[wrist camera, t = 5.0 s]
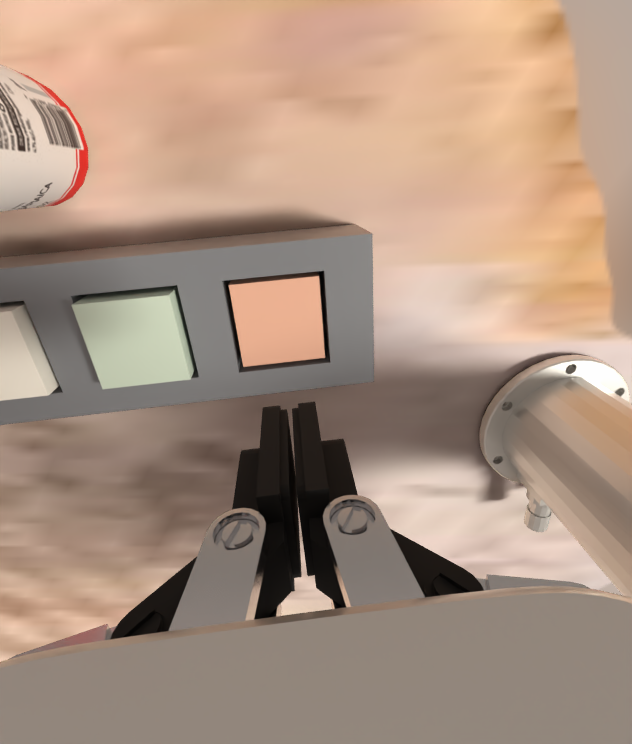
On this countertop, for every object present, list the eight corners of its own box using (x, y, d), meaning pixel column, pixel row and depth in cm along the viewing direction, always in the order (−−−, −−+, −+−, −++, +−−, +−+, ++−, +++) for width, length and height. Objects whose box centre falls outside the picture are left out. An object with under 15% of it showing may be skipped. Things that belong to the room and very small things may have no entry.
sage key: (198, 360, 25) (190, 379, 23) (118, 369, 25) (102, 389, 22) (179, 283, 23) (169, 295, 20) (92, 292, 22) (71, 305, 20)
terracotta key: (320, 342, 26) (325, 357, 24) (246, 350, 26) (243, 366, 24) (314, 266, 24) (319, 276, 22) (233, 274, 24) (228, 285, 21)
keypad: (358, 351, 29) (373, 381, 25) (-14, 392, 28) (-69, 432, 23) (354, 224, 25) (372, 233, 21) (-81, 264, 24) (-163, 284, 19)
